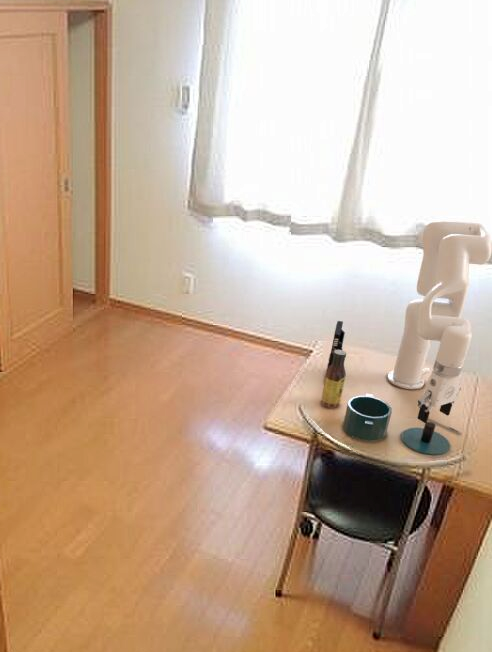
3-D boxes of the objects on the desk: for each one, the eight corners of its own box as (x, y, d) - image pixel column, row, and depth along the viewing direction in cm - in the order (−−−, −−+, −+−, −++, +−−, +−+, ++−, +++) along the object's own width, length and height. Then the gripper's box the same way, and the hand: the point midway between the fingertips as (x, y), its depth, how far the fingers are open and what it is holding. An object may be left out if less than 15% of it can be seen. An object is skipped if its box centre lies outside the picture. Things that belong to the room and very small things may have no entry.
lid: (446, 435, 209) (452, 416, 205) (451, 460, 197) (457, 441, 193) (400, 427, 212) (405, 408, 208) (401, 451, 200) (407, 432, 197)
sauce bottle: (340, 410, 220) (351, 358, 210) (321, 407, 221) (331, 356, 211) (339, 400, 226) (349, 349, 215) (320, 398, 227) (330, 347, 216)
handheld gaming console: (326, 368, 245) (336, 320, 234) (339, 371, 243) (349, 322, 233) (323, 383, 235) (333, 334, 225) (336, 386, 234) (346, 336, 223)
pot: (385, 418, 216) (390, 395, 212) (385, 450, 201) (392, 426, 196) (344, 411, 219) (348, 388, 215) (341, 442, 204) (347, 418, 199)
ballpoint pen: (459, 433, 210) (459, 431, 209) (457, 434, 209) (458, 432, 209) (428, 419, 216) (429, 417, 216) (426, 420, 216) (427, 418, 215)
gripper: (437, 379, 184) (423, 430, 193) (478, 367, 191) (462, 416, 200) (416, 368, 190) (403, 417, 198) (457, 356, 197) (442, 404, 205)
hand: (433, 416), depth 199 cm, fingers open, 9 cm apart
